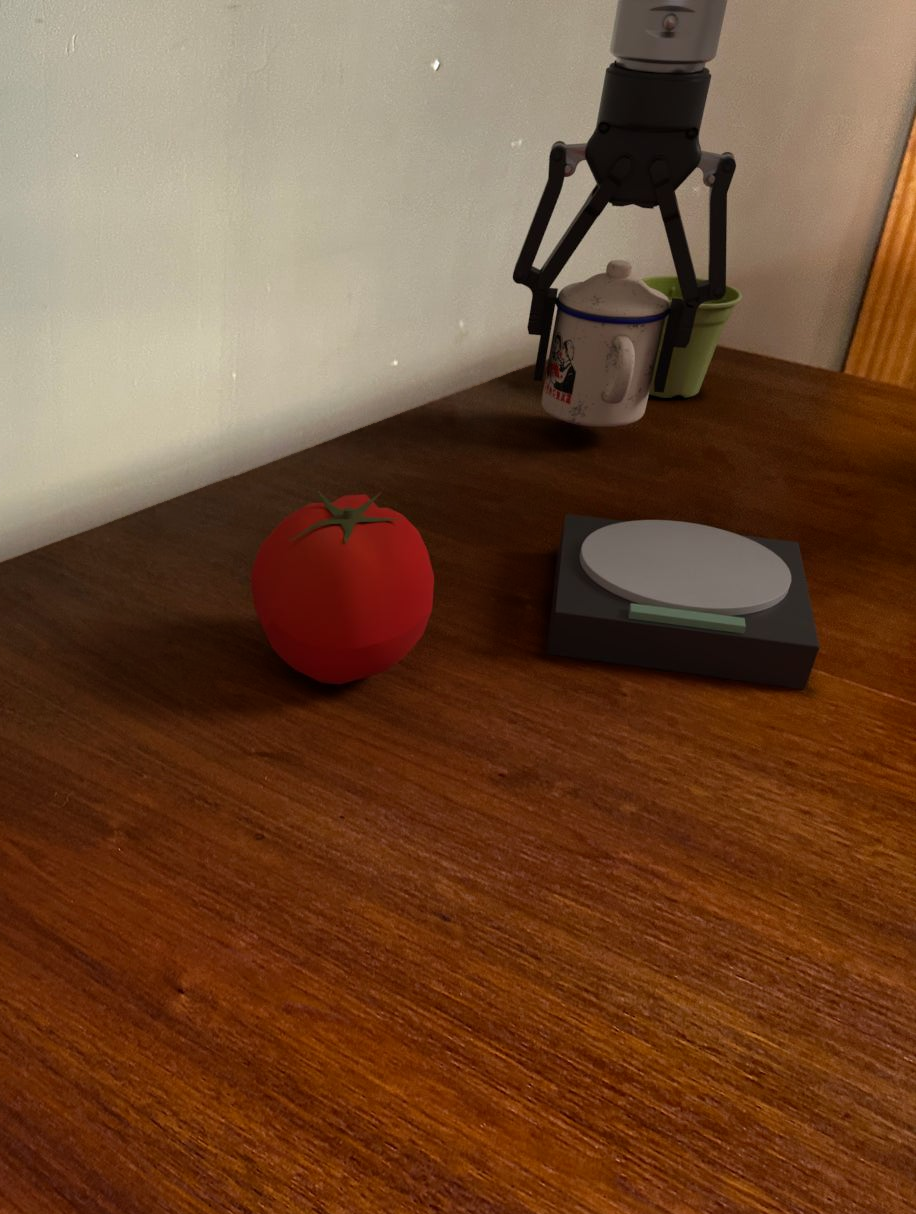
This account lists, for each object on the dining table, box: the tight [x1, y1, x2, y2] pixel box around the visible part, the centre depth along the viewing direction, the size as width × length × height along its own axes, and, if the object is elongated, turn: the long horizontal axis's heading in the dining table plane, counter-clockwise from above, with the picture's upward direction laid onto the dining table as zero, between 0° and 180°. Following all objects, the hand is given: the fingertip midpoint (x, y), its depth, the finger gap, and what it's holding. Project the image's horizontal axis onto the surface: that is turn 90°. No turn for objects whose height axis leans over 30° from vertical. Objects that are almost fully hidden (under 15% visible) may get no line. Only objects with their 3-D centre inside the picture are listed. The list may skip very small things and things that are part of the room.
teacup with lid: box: [540, 259, 670, 428], centre depth 116 cm, size 12×9×12 cm
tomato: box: [250, 490, 435, 686], centre depth 86 cm, size 11×13×10 cm
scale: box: [546, 513, 820, 690], centre depth 95 cm, size 16×16×4 cm
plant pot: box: [640, 275, 743, 399], centre depth 129 cm, size 9×9×9 cm
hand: (598, 381), depth 118 cm, fingers closed on teacup with lid, 9 cm apart
